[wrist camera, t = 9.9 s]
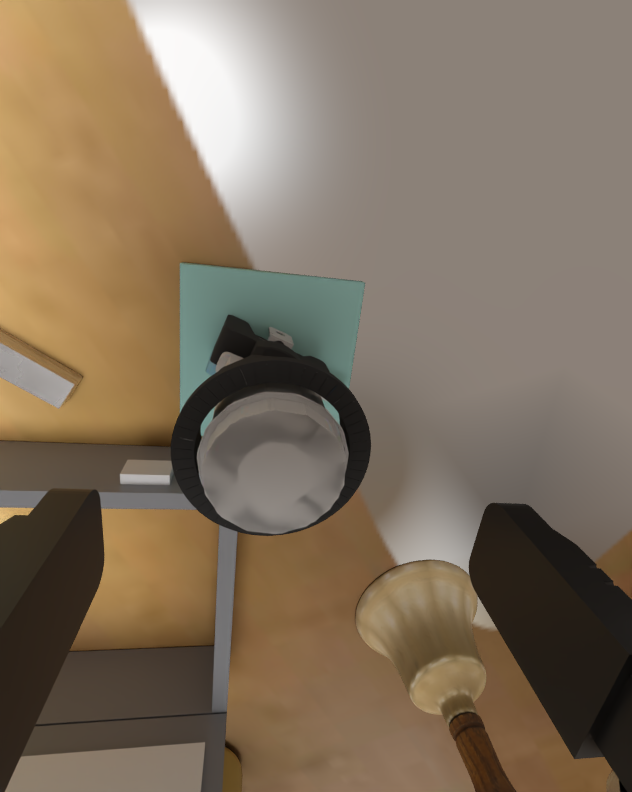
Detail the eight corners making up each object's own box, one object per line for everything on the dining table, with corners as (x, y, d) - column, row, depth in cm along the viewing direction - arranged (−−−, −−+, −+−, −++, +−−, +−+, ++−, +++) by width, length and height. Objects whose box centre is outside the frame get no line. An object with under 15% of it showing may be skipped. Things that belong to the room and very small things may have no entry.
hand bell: (334, 594, 27) (433, 1047, 12) (454, 538, 26) (708, 935, 12) (382, 668, 30) (506, 1095, 15) (489, 619, 29) (722, 1009, 15)
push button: (366, 342, 20) (461, 442, 11) (316, 435, 21) (362, 592, 12) (234, 279, 18) (213, 335, 9) (189, 385, 20) (131, 527, 10)
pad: (362, 281, 19) (365, 282, 19) (338, 436, 22) (340, 441, 22) (182, 262, 18) (179, 263, 18) (181, 429, 21) (180, 435, 20)
